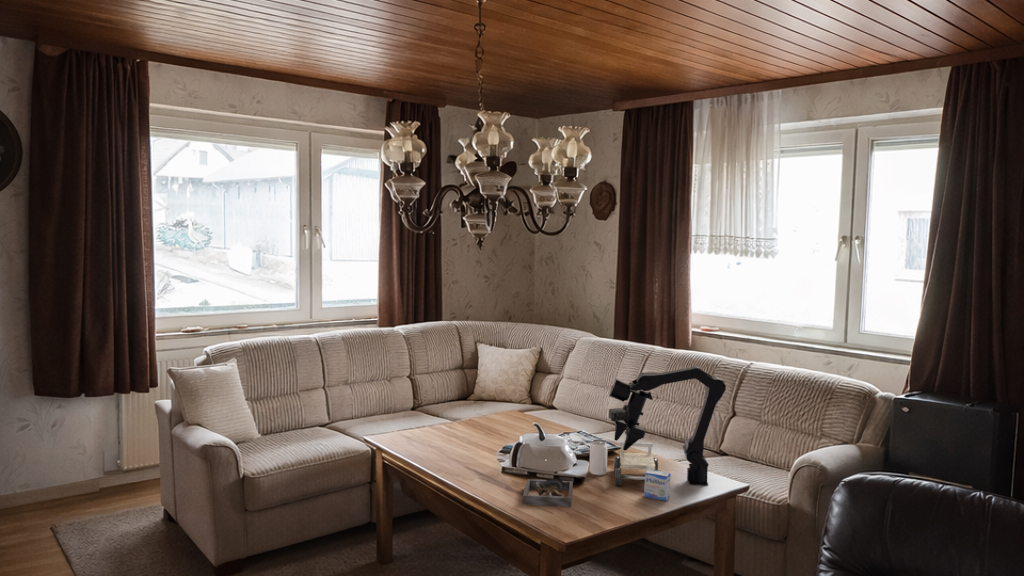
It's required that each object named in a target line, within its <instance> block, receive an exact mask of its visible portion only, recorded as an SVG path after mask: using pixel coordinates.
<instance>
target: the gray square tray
mask: <svg viewBox="0 0 1024 576" xmlns="http://www.w3.org/2000/svg"><path fill="white" fill-rule="evenodd" d="M547 480H548V479H529V478H527V479H526V483H525V487H524V490H523V495H522V505H526V506H527V505H529V506H546V507H560V508H561V507H562V508H572V499H573V487H574V484H573V483H574V481H572V480H561V481H562V482H564V483H565V488H564V489H561V490H560V489H558V490H557V491H568V495H567V496H561V495H559V496H555V495H552V496H549V495H541V496H540V495H539V494H536V495H535V494H529V492H530V489H531V490H534V489H535V490H538V488H537V487H538V486H537V485H536V482H540V483H541V484H542V485H544V483H545V482H546V481H547ZM536 486H537V487H536Z"/></svg>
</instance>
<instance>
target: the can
mask: <svg viewBox="0 0 1024 576" xmlns="http://www.w3.org/2000/svg"><path fill="white" fill-rule="evenodd" d="M590 442H591V443H590V445H589V473H590V474H591V475H593V476H599V477H600V476H604V475H606V474H607V472H608V444H607V441H606V440H604V439H592V440H591V441H590Z"/></svg>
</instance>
